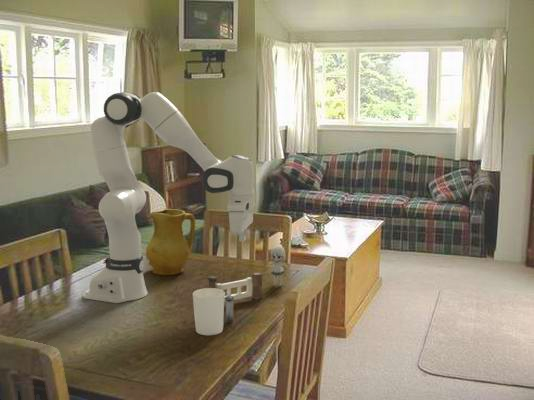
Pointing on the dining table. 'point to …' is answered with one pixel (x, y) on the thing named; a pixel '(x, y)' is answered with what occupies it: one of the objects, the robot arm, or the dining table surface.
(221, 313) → the candle holder
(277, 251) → the figurine
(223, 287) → the gate
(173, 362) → the dining table surface
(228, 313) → the post
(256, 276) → the fence post
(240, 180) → the robot arm
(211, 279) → the hinge post
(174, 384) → the dining table surface
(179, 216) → the pitcher
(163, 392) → the dining table surface
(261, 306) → the dining table surface
